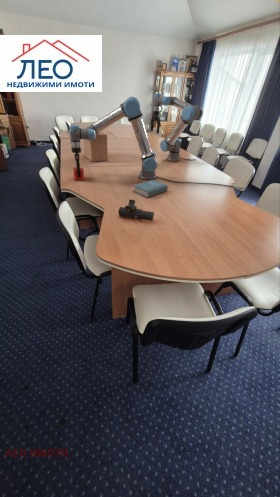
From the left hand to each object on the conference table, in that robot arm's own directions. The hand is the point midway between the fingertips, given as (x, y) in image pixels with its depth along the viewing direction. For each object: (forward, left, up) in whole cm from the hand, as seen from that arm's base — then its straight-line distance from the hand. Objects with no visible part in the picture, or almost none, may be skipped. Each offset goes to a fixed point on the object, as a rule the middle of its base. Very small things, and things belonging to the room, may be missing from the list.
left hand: (79, 175), depth 190 cm
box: (-10, -69, -3) cm, 70 cm away
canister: (0, 0, -3) cm, 3 cm away
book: (-59, +25, -3) cm, 64 cm away
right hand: (-77, -86, +23) cm, 118 cm away
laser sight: (-43, +70, -3) cm, 82 cm away
